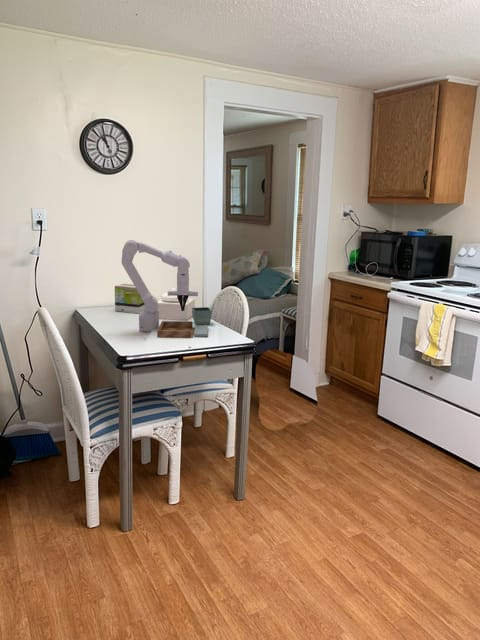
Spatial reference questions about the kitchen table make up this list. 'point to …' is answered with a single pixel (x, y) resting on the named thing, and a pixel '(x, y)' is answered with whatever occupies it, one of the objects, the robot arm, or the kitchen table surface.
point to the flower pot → (202, 315)
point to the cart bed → (176, 329)
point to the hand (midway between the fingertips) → (182, 310)
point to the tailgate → (201, 331)
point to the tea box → (128, 299)
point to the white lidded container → (174, 307)
